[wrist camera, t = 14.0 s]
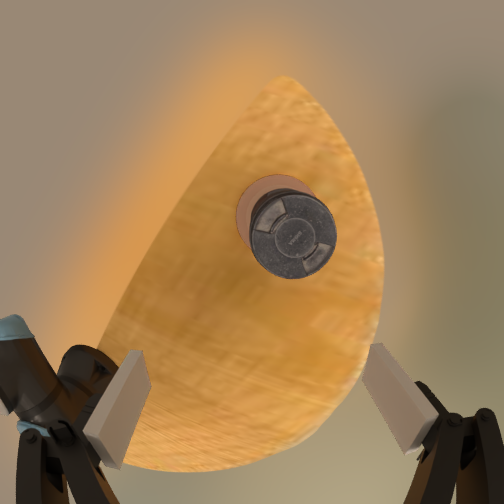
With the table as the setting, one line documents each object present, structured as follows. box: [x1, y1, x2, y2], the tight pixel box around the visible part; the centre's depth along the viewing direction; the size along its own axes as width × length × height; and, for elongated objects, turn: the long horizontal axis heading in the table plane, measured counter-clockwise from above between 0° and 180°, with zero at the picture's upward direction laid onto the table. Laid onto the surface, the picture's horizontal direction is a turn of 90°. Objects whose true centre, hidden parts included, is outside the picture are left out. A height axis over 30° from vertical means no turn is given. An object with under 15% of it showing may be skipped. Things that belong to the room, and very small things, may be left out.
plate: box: [236, 175, 315, 250], centre depth 38 cm, size 12×12×1 cm
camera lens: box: [249, 188, 337, 279], centre depth 31 cm, size 8×8×15 cm
